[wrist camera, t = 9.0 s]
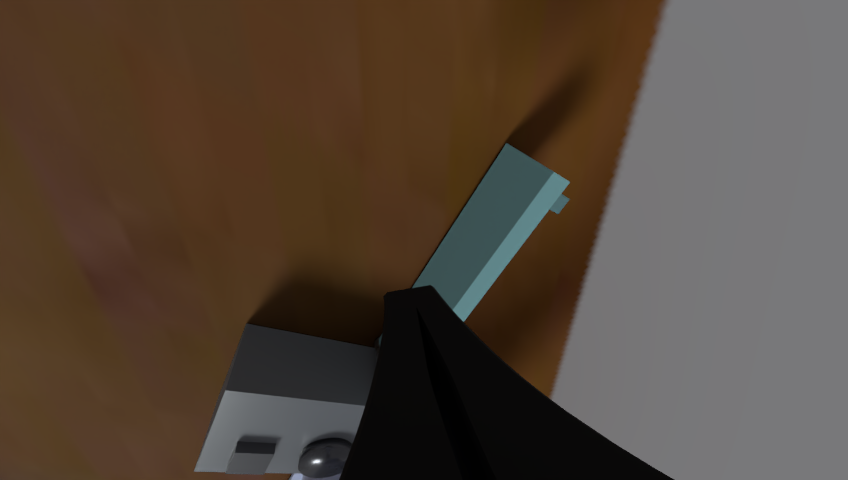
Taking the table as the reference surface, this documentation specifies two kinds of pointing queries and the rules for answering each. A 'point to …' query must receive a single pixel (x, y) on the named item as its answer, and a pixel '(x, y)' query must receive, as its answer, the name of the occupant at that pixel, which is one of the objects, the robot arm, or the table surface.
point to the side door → (491, 229)
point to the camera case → (288, 405)
